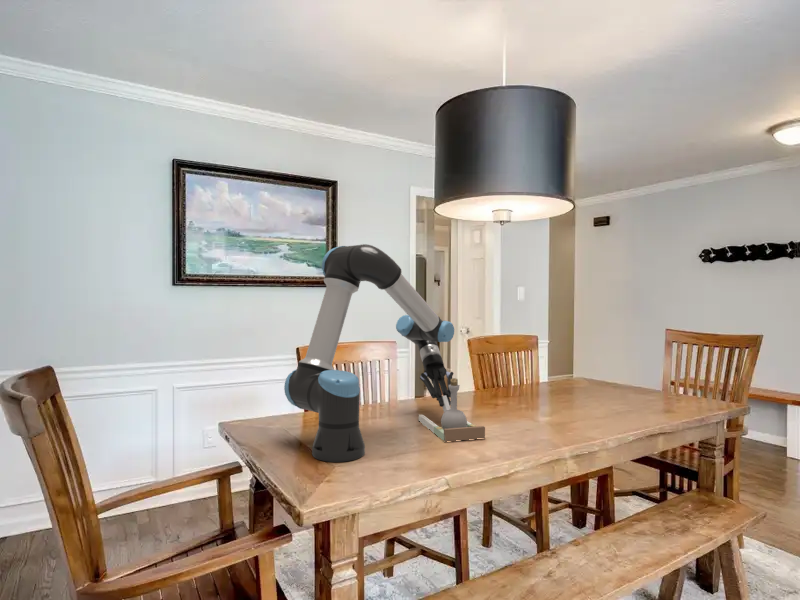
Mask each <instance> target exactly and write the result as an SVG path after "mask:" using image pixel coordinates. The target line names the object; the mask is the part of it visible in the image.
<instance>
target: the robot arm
mask: <svg viewBox="0 0 800 600" xmlns="http://www.w3.org/2000/svg"><path fill="white" fill-rule="evenodd" d="M321 270H322V274H323V276H324V278H323V282H324V284H325V285H326V286H325V287H326V288H325V292H324V294H323V299H322V300H321V303H320V308H319V311H318V314H317V317H316V321H315V324H314V328H313V330H312V331H313V332H312V334H311V337H310V341H309V344H308V347H307V351H306V354H305V357H304V358H302V359H301V360H299V361H298V363H297V366H296V368H295V369H294V370H292V372H290V373H289V374H288V375H287V377H286V379H285V382H284V387H283V388H284V389H283V390H284V395H285V397H286V399H287V401H288V402H289V403H290V404H291V405H293V406H294V407H297V408H298V409H301V410H307V411H310V412H313V413H318V428H317V431H316V434H315V438H314V441H313V443H312V448H311V454H312V457H313V458H315V459H317V460H318V461H322V462H330V463H342V462H350V461H354V460H358V459H360V458H362V457H363V456H364V455H365V453H366V450H365V448H366V446H365V441H364V439H363V438H364V437H363V436H362V433H361V428H360V398H361V397H360V394H361V393H360V392H361V388H360V380H359V377H358V376H357V375H356V374H355V373H352V372H351V371H347V370H339V369H335V368H334V367H333V362H334V359H335V354H336V353H337V348H338V345H339V341H340V337H341V334H342V331H343V328H344V325H345V324H344V323H345V319H346V317H347V313H348V309H349V306H350V303H351V300H352V296H353V294H354V293H356V292H358V291H359V288H360V285H361V282H369V283H372V284H374V285H375V287H377V288H378V289H380V290H381V291H382V290H384V291H385V292H386V293H387V294H388V295H389V297H391V299H392V300H393V302H395V303H396V305H398V306H399V307H400V308H401V310H403V311H404V312H405V313H406V314H405V315H402V316H401V317H399V318H398V320H397V322H396V324H395V329H396V331H397V332H398V334H400V335H401V337H404V338H406V339H407V340H409V341H410V342H412V343H413V344H415V345H416V346H417V348H418V351H419V355H420V359H421V362H422V365H423V370H424V372H422V373H421V374H420V377H419V380H420V381H422V382H423V383H424V386H425V387H426V389H427V391H428V393H429V394H430V396H431V398H432V399H436V401H438V403H439V407H442V409H443V410H442V411H443V413H444V412H445V411H447V410H450V409H451V392H450V390H449V385H450V384H451V379H453V376H454V372H453V371H451V372H450V371H448V370H447V368H446V367H445V363H444V360H443V357H442V355H441V351H440V349H439V345H438V342H439V343H447V342H450V341H452V340H453V338H454V336H455V327H454V324H453V323H452V322H451V321H447V320H442V319H441V318H440V317H439V315H438V314H437V313H436V312H435V311H434V309H432V307H431V306H430V305H429V304H428V303H427V301H426V300H425V299H424V298H423V297H422V296H421V295H420V293H419V292H418V291H417V290H416V289H415V288H414V287H413V286H412V285H411V283H410V282H409V281H408V280H407V278H406V277H405V276H404V275H403V273H402V272H403V271H402V268H401V267H400V266H399V265H398V263H396V261H395V260H394V259H393V258H392V257H390V256H389V255H388V254H387V253H385V251H383V250H381V248H378V247H376V246H373V245H371V244H366V243H365V244H364V243H362V244H357V245H356V244H355V245H341V246H336V247H333V248H331V249H329V250H328V251H327V252H326V253H325V255H324V256H323V258H322V262H321ZM445 377H446V379H447V382H446V381H445Z"/></svg>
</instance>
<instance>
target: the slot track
mask: <svg viewBox="0 0 800 600" xmlns="http://www.w3.org/2000/svg"><path fill="white" fill-rule="evenodd" d="M419 421H420V422H421V423H422V424H421V423H420V422H419ZM418 422H419V423H420V424H421V425H422V426H423V427H425V426H426V427H427V428H426V427H425V428H426V429H428V430H429V429H430V430H431V431H432V432H433V433H432V432H431V431H430V430H429V431H430V432H431V433H432V434H434V433H435V434H436V435H437V436H438V437H437V436H436V435H435V434H434V435H435V436H436V437H437V438H439V437H440V438H441V439H442V440H444V441H445V442H447V441H456V440H469V439H477V438H485V439H486V426H485V425H477V424H473V423H472V422H469V421H468V420H467V425H466V427H462V428H449V429H444V430H443V428H442V426H439V425H437V424H436V423H435V422H434V421H432V420H431V419H429V418H428V417H427V416H425V415H424V414H418ZM440 438H439V439H440ZM441 439H440V440H441ZM442 440H441V441H442ZM444 441H443V442H444ZM445 442H444V443H445ZM447 443H448V442H447Z"/></svg>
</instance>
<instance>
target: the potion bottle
mask: <svg viewBox="0 0 800 600" xmlns="http://www.w3.org/2000/svg"><path fill="white" fill-rule="evenodd" d="M449 390H450V392H451V397H450V401H451V405H450V410H447V411H445V412H444V411H443V414H442V415H441V419H440V424H441V427H442V429H443V430H444V429H449V428H462V427H466V425H467V421H468V420H467V417H466V415H465V413H464V411H462V410H459V409H458V391H459V390H460V384H459V383H458V378H456V377H455V378H454V377H452V379H451V384H450V385H449Z"/></svg>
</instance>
